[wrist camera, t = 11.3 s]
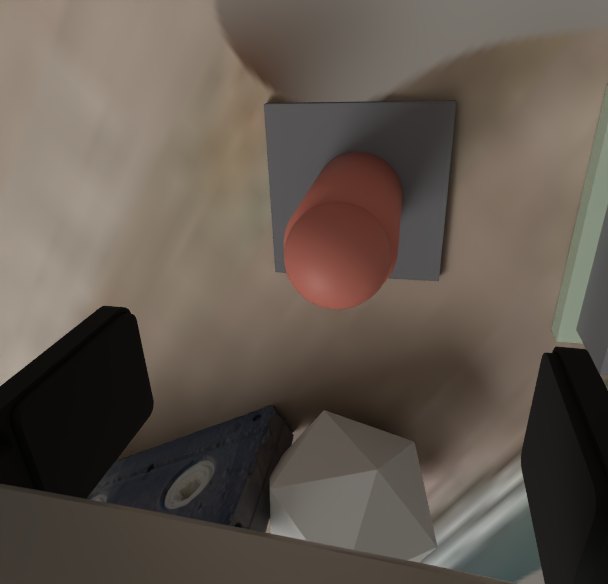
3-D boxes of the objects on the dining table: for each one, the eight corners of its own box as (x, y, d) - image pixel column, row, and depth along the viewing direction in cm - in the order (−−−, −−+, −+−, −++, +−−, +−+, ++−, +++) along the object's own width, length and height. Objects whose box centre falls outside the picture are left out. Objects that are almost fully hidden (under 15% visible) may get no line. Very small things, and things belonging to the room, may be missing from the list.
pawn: (405, 152, 21) (398, 220, 14) (400, 239, 23) (391, 339, 16) (313, 151, 22) (261, 215, 15) (315, 236, 24) (270, 329, 17)
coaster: (456, 100, 20) (456, 101, 20) (438, 277, 24) (438, 281, 24) (266, 103, 22) (264, 104, 21) (277, 268, 25) (275, 272, 25)
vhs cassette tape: (96, 497, 38) (0, 636, 29) (71, 470, 37) (-35, 605, 28) (301, 437, 31) (255, 598, 22) (276, 402, 30) (218, 555, 21)
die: (343, 365, 30) (212, 475, 29) (411, 409, 22) (231, 569, 20) (416, 463, 32) (297, 571, 31) (506, 539, 24) (348, 695, 22)
